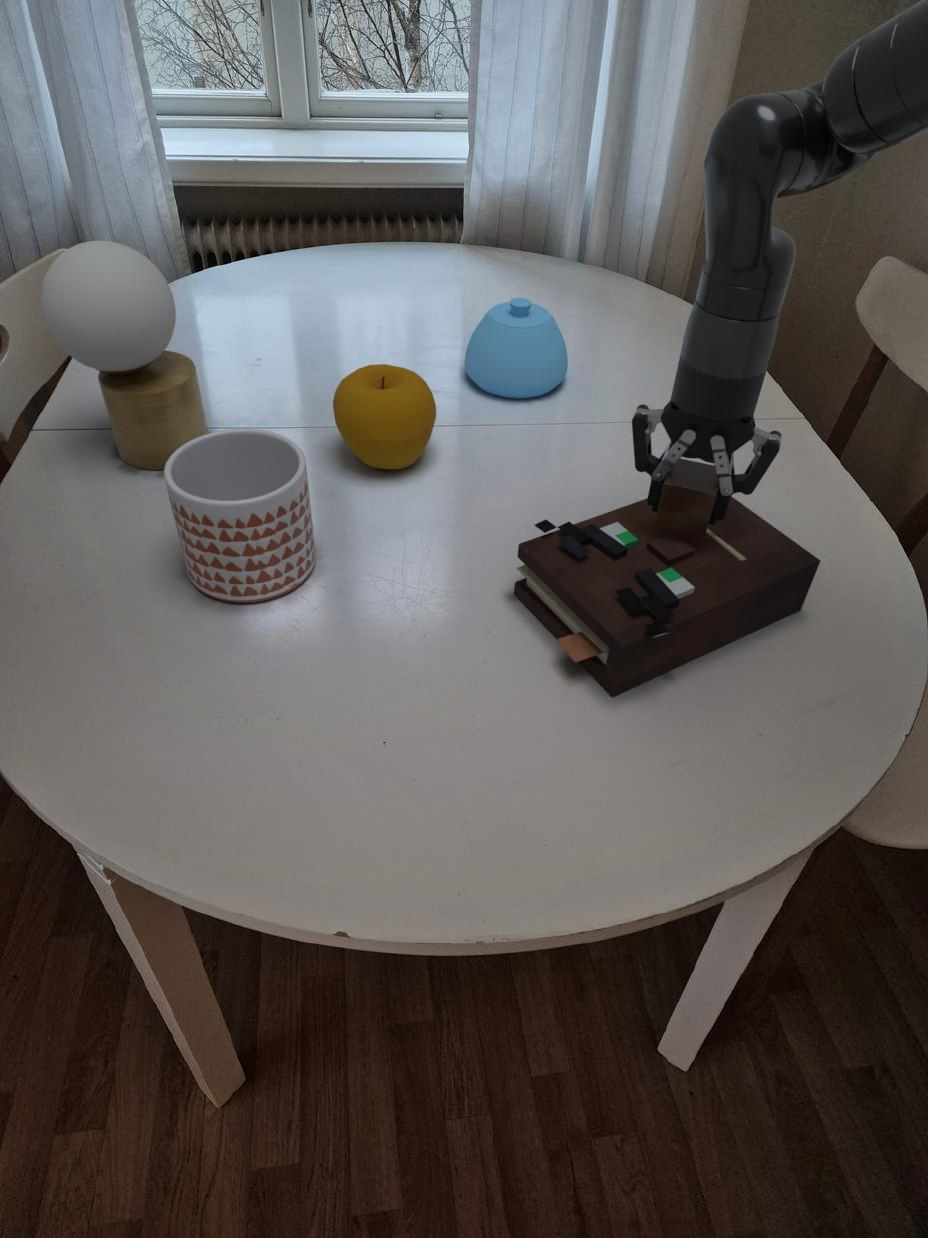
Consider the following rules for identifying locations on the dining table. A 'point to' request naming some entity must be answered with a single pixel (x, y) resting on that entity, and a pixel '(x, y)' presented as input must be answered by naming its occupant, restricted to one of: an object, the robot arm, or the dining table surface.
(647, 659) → the decorative book
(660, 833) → the dining table surface
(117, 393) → the lamp
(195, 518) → the planter
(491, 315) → the sugar bowl
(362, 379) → the apple
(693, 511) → the walnut block
